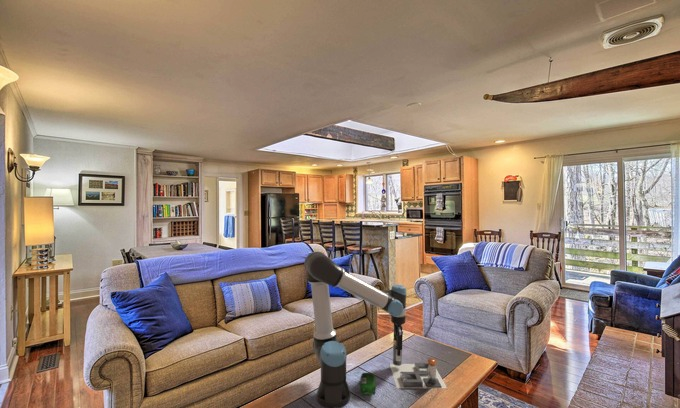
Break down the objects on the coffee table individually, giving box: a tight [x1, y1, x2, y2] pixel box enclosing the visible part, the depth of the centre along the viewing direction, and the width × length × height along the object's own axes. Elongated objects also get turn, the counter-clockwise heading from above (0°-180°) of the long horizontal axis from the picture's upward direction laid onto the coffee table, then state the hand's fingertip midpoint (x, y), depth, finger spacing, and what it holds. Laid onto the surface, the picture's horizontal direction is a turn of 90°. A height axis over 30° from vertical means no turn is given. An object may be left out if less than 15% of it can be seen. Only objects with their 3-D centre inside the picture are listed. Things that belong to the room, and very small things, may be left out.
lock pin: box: [427, 357, 437, 385], centre depth 152 cm, size 4×4×11 cm
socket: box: [414, 362, 428, 375], centre depth 164 cm, size 8×8×2 cm
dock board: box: [389, 363, 448, 389], centre depth 160 cm, size 24×22×1 cm
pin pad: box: [423, 378, 443, 389], centre depth 153 cm, size 7×7×1 cm
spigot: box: [392, 339, 403, 366], centre depth 167 cm, size 5×5×12 cm
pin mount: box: [400, 372, 424, 389], centre depth 154 cm, size 9×9×3 cm
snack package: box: [359, 372, 376, 396], centre depth 149 cm, size 7×16×5 cm, turn 174°
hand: (397, 358), depth 167 cm, fingers closed on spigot, 5 cm apart
